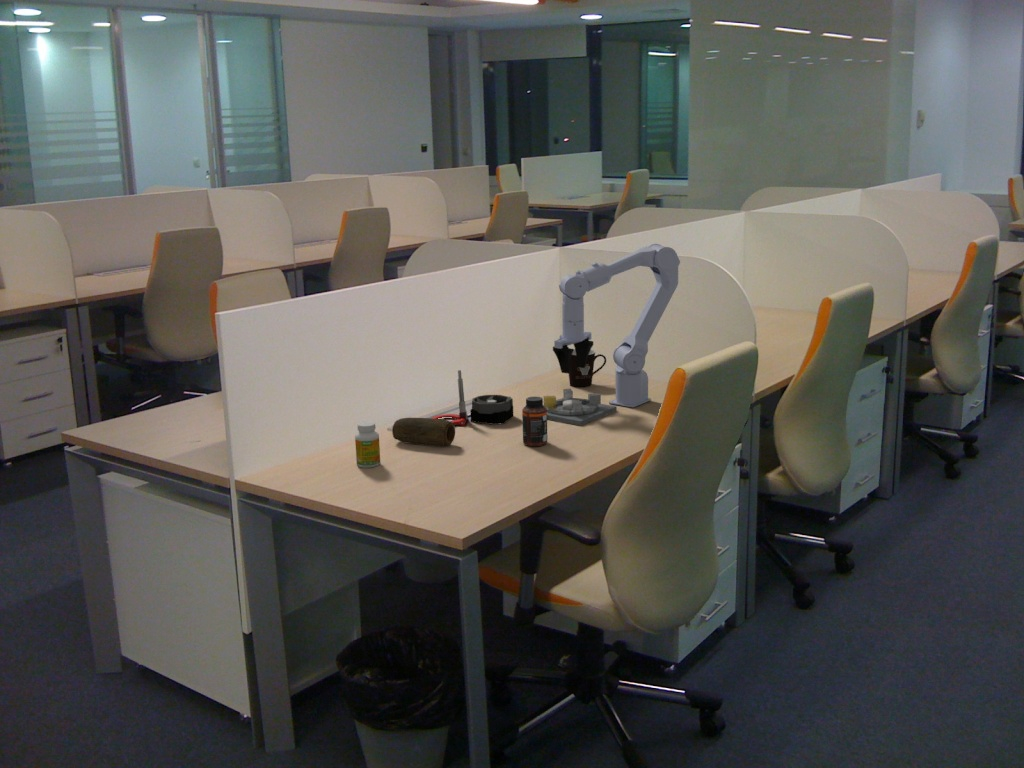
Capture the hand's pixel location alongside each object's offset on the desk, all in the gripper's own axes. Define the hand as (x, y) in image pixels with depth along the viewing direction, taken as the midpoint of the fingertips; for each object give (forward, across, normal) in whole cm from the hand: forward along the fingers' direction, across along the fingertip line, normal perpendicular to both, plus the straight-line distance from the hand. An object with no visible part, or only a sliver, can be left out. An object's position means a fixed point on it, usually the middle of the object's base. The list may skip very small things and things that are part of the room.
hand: (573, 370), depth 268 cm
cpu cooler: (+11, +21, -11) cm, 26 cm away
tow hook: (+11, +30, -19) cm, 37 cm away
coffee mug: (+11, -22, -11) cm, 27 cm away
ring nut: (+9, +5, +3) cm, 11 cm away
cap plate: (+10, +5, +3) cm, 12 cm away
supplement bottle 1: (+11, +66, -11) cm, 68 cm away
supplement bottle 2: (+11, +32, +11) cm, 35 cm away
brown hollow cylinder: (+11, +47, -11) cm, 50 cm away
